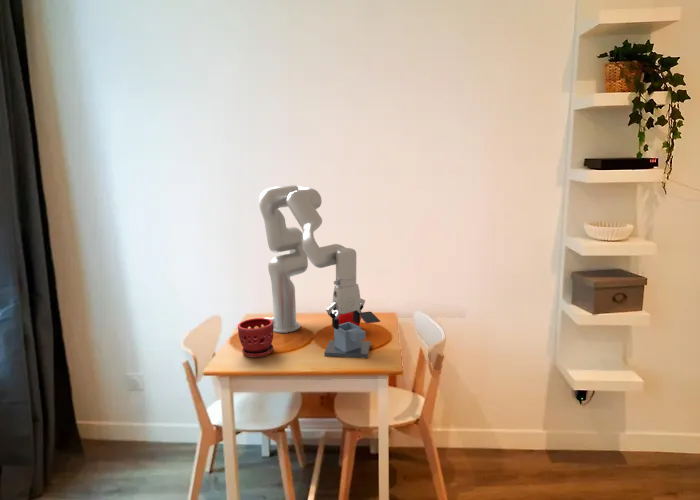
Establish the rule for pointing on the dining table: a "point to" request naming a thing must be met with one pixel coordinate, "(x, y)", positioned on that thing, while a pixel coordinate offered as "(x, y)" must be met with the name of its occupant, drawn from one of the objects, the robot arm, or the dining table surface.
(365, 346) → the duct base
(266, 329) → the plant pot
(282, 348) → the dining table surface
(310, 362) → the dining table surface
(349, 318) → the tomato
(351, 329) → the elbow
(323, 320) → the dining table surface
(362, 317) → the smartphone
